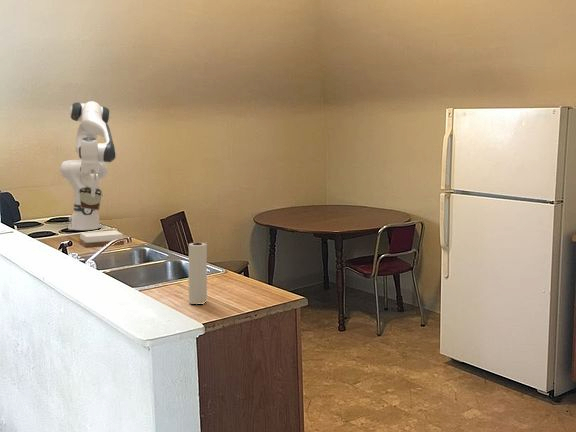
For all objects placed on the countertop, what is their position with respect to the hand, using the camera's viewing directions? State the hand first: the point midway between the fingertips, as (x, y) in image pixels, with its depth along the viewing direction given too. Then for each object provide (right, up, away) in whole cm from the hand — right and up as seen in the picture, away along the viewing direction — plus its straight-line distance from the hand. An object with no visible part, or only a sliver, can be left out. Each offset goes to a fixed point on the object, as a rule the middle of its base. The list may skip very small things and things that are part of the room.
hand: (90, 195), depth 346 cm
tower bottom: (+8, -25, -9) cm, 28 cm away
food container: (-1, -6, +3) cm, 7 cm away
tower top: (+8, -22, -9) cm, 25 cm away
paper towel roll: (+71, -41, -111) cm, 138 cm away
